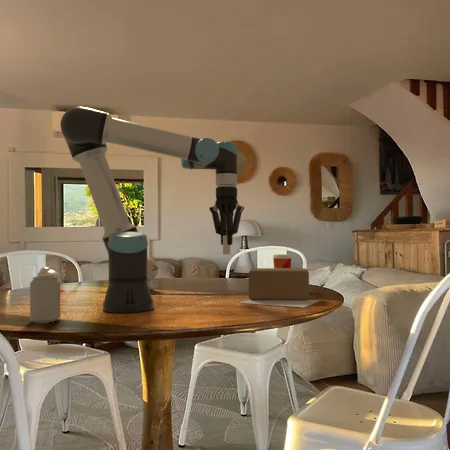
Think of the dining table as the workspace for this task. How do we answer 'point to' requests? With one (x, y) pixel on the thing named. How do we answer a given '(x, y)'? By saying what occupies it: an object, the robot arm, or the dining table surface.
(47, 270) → the ghost figurine
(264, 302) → the felt mat
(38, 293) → the can
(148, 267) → the kitten
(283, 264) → the paper cup
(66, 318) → the dining table surface
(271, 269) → the block
